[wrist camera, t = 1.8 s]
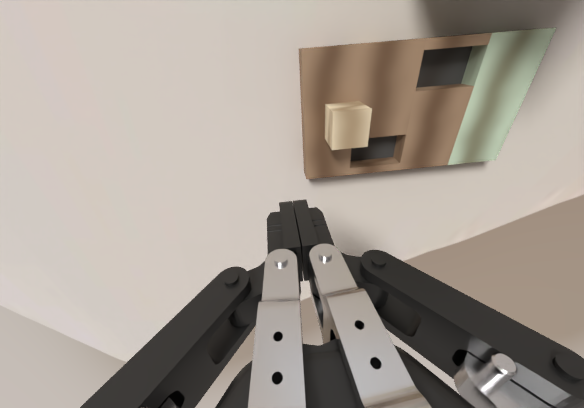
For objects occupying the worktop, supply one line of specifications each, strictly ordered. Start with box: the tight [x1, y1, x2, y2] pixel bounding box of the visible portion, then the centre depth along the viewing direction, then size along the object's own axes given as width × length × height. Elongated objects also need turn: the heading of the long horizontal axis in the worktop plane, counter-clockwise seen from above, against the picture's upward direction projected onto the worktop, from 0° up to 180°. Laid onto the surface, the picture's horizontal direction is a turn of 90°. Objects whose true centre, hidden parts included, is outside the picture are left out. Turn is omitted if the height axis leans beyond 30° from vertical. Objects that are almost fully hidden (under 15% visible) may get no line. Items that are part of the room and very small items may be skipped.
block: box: [325, 101, 372, 150], centre depth 26 cm, size 4×4×4 cm
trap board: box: [299, 28, 556, 179], centre depth 29 cm, size 27×15×2 cm, turn 94°
